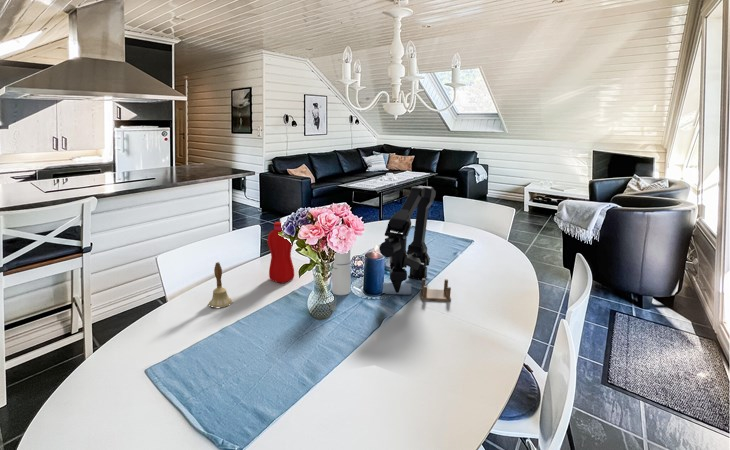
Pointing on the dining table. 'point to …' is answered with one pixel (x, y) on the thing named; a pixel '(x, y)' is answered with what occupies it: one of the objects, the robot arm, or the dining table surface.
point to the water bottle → (280, 256)
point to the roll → (404, 290)
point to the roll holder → (436, 292)
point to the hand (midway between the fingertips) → (397, 287)
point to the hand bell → (219, 290)
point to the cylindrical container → (341, 274)
